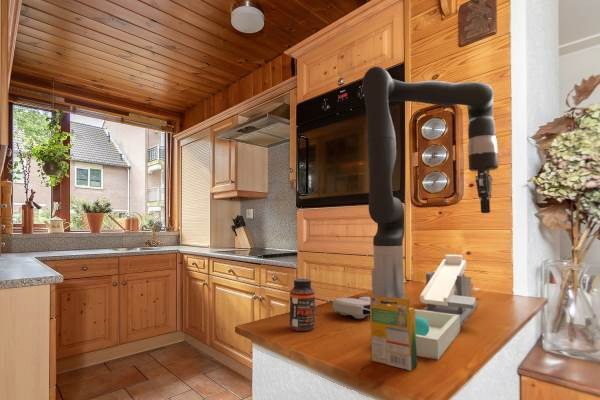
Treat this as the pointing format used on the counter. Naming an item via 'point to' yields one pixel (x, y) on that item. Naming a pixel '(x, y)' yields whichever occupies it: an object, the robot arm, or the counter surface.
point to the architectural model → (467, 287)
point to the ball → (421, 326)
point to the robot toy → (353, 306)
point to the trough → (447, 285)
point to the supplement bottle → (302, 306)
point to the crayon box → (393, 333)
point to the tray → (437, 333)
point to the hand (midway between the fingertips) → (485, 212)
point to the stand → (462, 312)
